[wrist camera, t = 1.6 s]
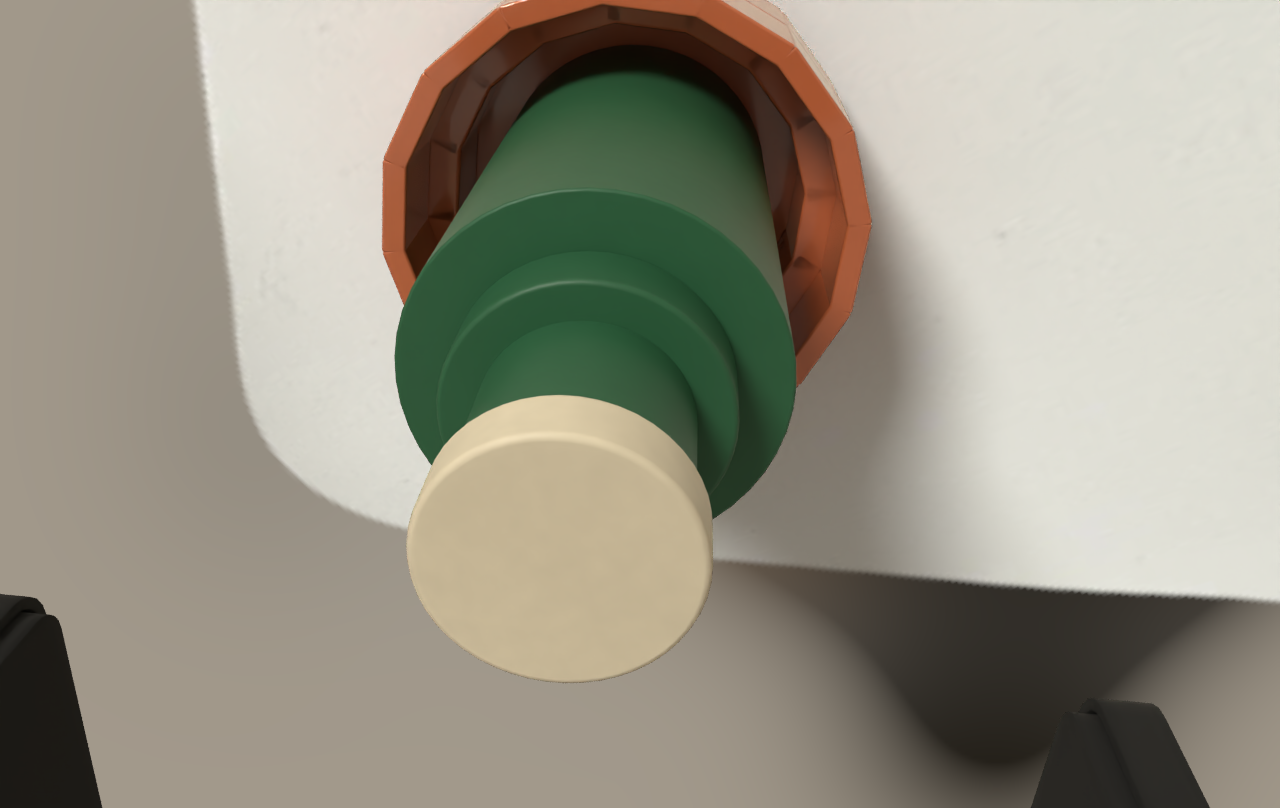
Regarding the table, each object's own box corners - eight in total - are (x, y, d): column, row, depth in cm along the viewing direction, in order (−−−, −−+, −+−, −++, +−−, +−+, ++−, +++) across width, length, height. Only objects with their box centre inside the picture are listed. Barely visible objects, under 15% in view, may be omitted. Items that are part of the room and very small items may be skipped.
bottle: (454, 153, 27) (182, 520, 13) (657, -14, 25) (594, 207, 11) (615, 340, 29) (531, 828, 15) (814, 200, 27) (930, 616, 13)
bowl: (350, 132, 27) (281, 194, 23) (674, -149, 24) (666, -141, 19) (606, 419, 31) (589, 521, 26) (920, 207, 27) (961, 283, 23)
